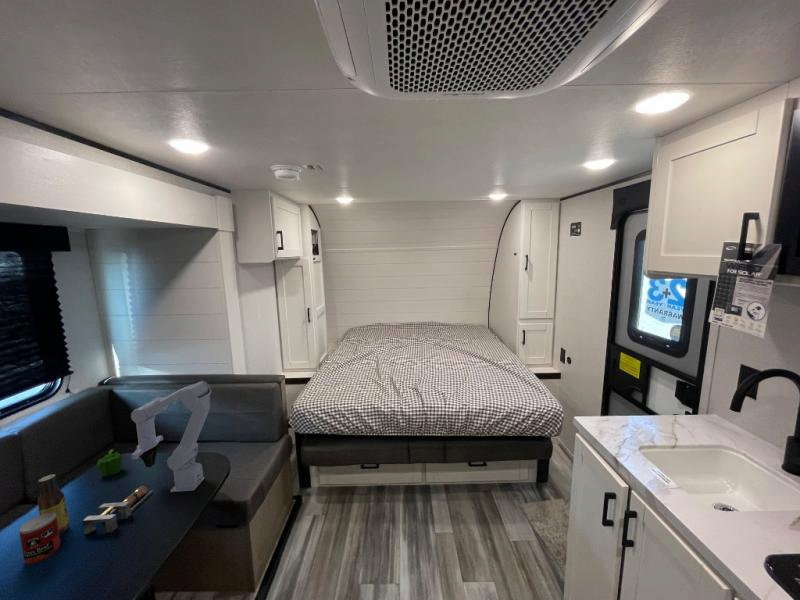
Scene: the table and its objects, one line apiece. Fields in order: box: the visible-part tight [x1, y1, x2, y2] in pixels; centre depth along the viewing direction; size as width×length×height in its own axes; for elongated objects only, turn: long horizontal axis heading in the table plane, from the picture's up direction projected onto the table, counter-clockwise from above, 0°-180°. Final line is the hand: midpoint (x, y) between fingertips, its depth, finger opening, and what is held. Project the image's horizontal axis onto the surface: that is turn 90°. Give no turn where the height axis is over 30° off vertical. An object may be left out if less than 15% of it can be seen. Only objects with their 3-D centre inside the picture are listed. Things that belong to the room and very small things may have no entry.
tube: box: [117, 485, 148, 513], centre depth 123 cm, size 10×3×3 cm, turn 2°
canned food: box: [19, 512, 61, 565], centre depth 101 cm, size 8×8×11 cm
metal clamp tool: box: [82, 489, 154, 535], centre depth 118 cm, size 9×20×5 cm, turn 2°
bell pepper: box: [97, 449, 123, 478], centre depth 143 cm, size 8×8×10 cm
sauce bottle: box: [37, 473, 70, 535], centre depth 109 cm, size 7×6×20 cm
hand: (150, 465), depth 133 cm, fingers closed
